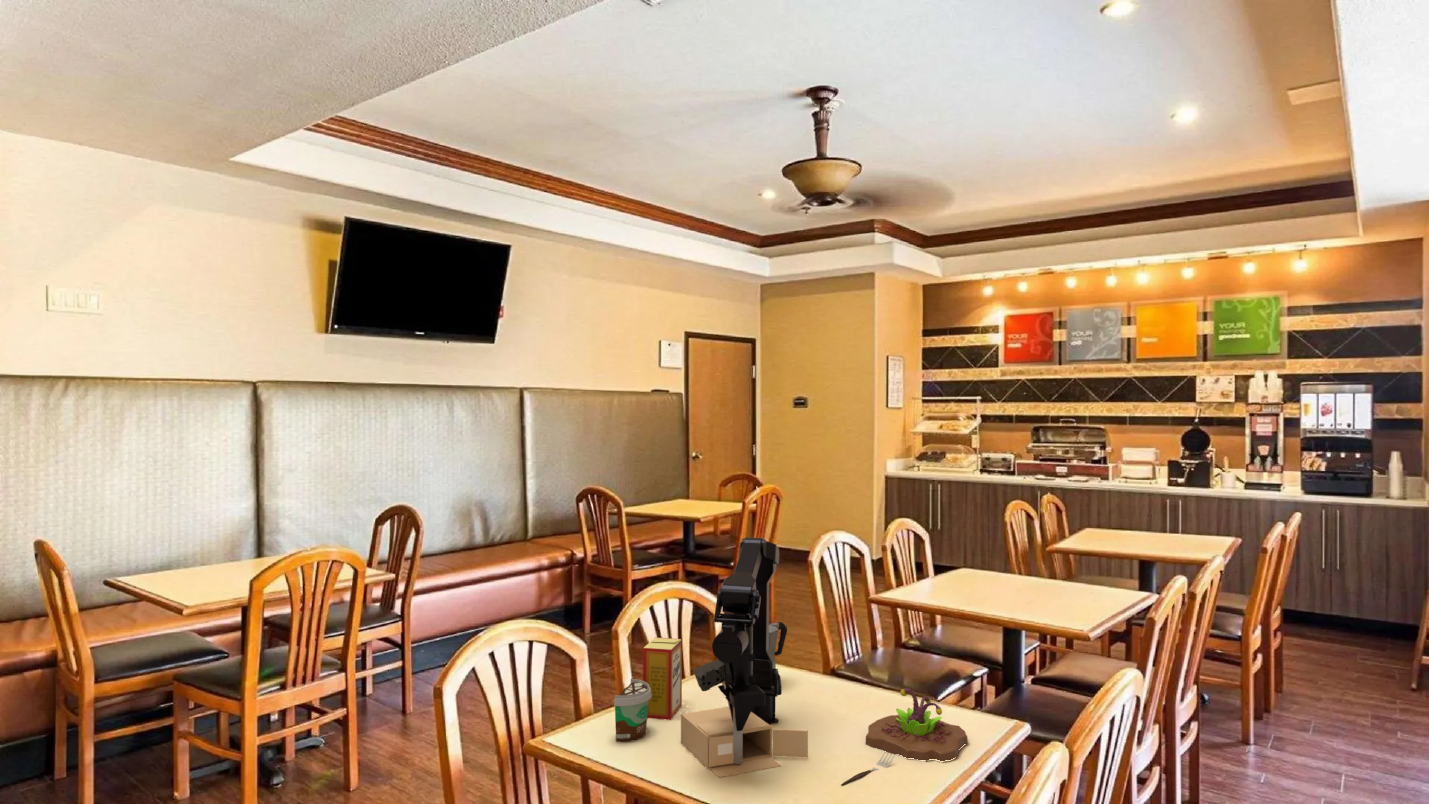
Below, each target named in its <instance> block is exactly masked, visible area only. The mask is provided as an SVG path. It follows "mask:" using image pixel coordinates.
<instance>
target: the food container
mask: <svg viewBox="0 0 1429 804" xmlns="http://www.w3.org/2000/svg"><path fill="white" fill-rule="evenodd" d="M651 697H652V694H651V689H650V687H649V684H648V683H646V682H644V681H643V679H642V680H641V679H636V678H630V683H629V685H628V686H626V687H625V688H624V689H623V690H622V691H621V693H620V694H614V699H613V701H614V702H613V706H614V712H615V713H614V717H615V719H614V720H615V742H616V743H627V742H634V741H638V740H641V739H643V738H644V737H645V736H646V735H647V724H648V718H647V712H648V700H649V699H650V698H651Z"/></svg>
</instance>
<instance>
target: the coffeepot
mask: <svg viewBox="0 0 1429 804" xmlns="http://www.w3.org/2000/svg"><path fill="white" fill-rule="evenodd" d="M779 631H780V633H779ZM778 633H779V634H778ZM787 633H788V627H787V626H786V625H785V623H784V622H782V621H778V622H772V623H769V649H770V651H771V653H772V654H773V656H774V657H776V656H780V655H782V652H783V649H784V646H785V641H786V636H787ZM778 635H779V641H778ZM777 642H778V643H777ZM776 647H777V651H776ZM772 687H774V686H772Z"/></svg>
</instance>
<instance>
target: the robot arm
mask: <svg viewBox="0 0 1429 804" xmlns="http://www.w3.org/2000/svg"><path fill="white" fill-rule="evenodd" d="M777 545H778V544H776V543H774V542H771V541H770V542H769V541H767V539H766V538H762V537H747V536H746V537H745V538H741V542H739V545H738V557H737V561H736V565H735V568H734V570H733V573H732V574H731V575H729V576H727V577H725V579H724V581H723V582H722V584H721V587H720V588H718V590H717V597H716V604H715V610H714V616H713V622H714V623H721V627H720V628H721V629H720V631H719V632H718V634H716V636H715V637H714V639H713V641H712V643H711V645H712V646H711V649H712V653H713V655H714V656H715V658H716V660H713V661H710V662H708V663H705V664H703V665H700V666H699V667H696V668H695V669H693V674H694V676H695V679H696V681H697V685H698V687H699V688H700V690H701V691H702V692H708V691H709V690H711V689H712V688H714V687H716V686H717V688H718V689H719V691H720V692H721V693H722V694H723V695H724V696H725V699H726V701H727V704H728V707H729V709H730V713H731V718H732V722H733V712H734V718H735V725H736V730H737V731H742V730H743V728H744V726H745V724H746V721H747V719H748V717H749V715H750V713H751V712H752V713H754V714H755V715H756V716H758V717H759V718H761V719H762V720H763V721H765V722H766V723H767V724H769V725H771V724H778V723H780V720H779V719H778V718H777V717H776V698H777V697H778V696H781V695H782V694H783V693H782V692H783V691H782V690H783V688H782V680H781V674H779V669H778V668H776V667H777V666H776V662H777V661H776V658H775V655H774V656H773V654H772V653H771V651H770V649H769V625H770V618H769V617H770V581H771V580H772V579H773V577H774V574H775V573H776V571H777V565H779V563H780V548H779V547H778V546H777ZM720 684H721V685H720ZM772 686H774V687H772Z"/></svg>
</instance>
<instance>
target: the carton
mask: <svg viewBox="0 0 1429 804" xmlns="http://www.w3.org/2000/svg"><path fill="white" fill-rule="evenodd" d="M742 734H743V756H742V763H741V764H734V763H732V764H725V765H718V766H712V767H709V738H711V737H719V736H726V735H733V722H732V718H731V713H730V709H729V706H725V707H718V708H711V709H704V710H698V711H691V712H685V713H680V744H681V745H682V746H683V747H685V749H687V750H688V751H689V752H690V753H691V754H692V755H693V756H694V757H695V758H696V759H697V760H698V761H699V762H700V763H701V764H702V765H703V766H704V767H705V768H706V769H709V770H711V771H712V773H713V774H715V775H716V776H717V777H718V778H725V777H729V775H731V776H735V775H736V776H737V775H741V774H746V773H745V772H747V773H750V772H751V773H752V772H758V771H761V770H767V769H772V768H778V767H781V766H782V764H781V763H779V762H778V761H777V760H775V759H774V758H773V757H786V758H788V757H789V758H807V759H808V758H809V731H808V730H805V729H804V730H803V729H785V728H783V729H782V728H781V729H780V728H773V726H772V725H771V724H767V723H766V722H765V721H763V720H762V719H761V718H759V717H758V716H756V715H755V714H754V713H752V712H751V713H750V715H749V717H748V719H747V721H746V724H745V726H744V728H743V730H742Z"/></svg>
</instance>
